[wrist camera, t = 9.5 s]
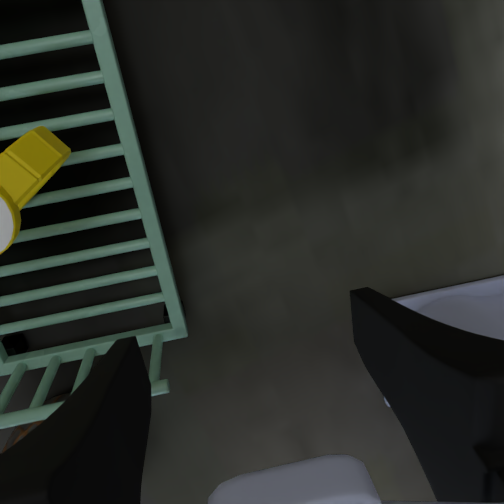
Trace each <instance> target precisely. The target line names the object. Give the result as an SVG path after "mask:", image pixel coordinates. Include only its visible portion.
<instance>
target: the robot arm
mask: <svg viewBox="0 0 504 504" xmlns="http://www.w3.org/2000/svg"><path fill="white" fill-rule="evenodd" d="M350 299H351V311H352V323H353V335H354V342H355V345H356V347H357V349H358V352H359V354H360V356H361V358H362V361H363V363H364V365H365V367H366V368H367V370H368V372H369V373H370V375H371V376H372V378H373V380H374V381H375V383H376V385H377V386H378V388H379V389H380V391H381V392H382V394H383V396H384V401H385V403H386V405H387V406H388V407H391V408H392V410H393V411H394V413H395V415H396V416H397V418H398V420H399V421H400V423H401V425H402V427H403V428H404V430H405V432H406V435H407V437H408V439H409V441H410V443H411V445H412V447H413V449H414V451H415V453H416V455H417V457H418V459H419V462H420V464H421V466H422V468H423V470H424V472H425V474H426V477H427V479H428V481H429V483H430V485H431V488H432V490H433V492H434V495H435V497H436V499H437V501H438V502H427V501H381V500H380V498H379V496H378V493H377V491H376V489H375V486H374V484H373V482H372V480H371V477H370V475H369V473H368V471H367V469H366V467H365V465H364V463H363V461H360V460H358V459H356V458H354V457H352V456H350V455H348V454H335V455H324V456H319V457H315V458H310V459H306V460H302V461H297V462H293V463H289V464H284V465H280V466H276V467H271V468H267V469H262V470H258V471H254V472H249V473H245V474H241V475H238V476H236V477H233V478H231V479H229V480H227V481H224V482H222V483H221V484H220V485H219V486H218V487H217V488H216V489H215V490H214V492H213V493H212V494H211V495H210V496H209V497H208V504H504V275H502V276H498V277H493V278H488V279H483V280H479V281H474V282H469V283H464V284H460V285H455V286H450V287H446V288H441V289H436V290H431V291H427V292H422V293H417V294H412V295H408V296H403V297H398V298H393V299H390V298H388V297H386V296H384V295H382V294H381V293H379V292H377V291H375V290H373V289H371V288H369V287H365V288H360V289H356V290H351V291H350ZM150 418H151V382H150V379H149V376H148V373H147V370H146V367H145V364H144V360H143V357H142V354H141V351H140V348H139V345H138V342H137V338H136V336H131V337H126V338H121V339H117V340H116V341H115V342H114V344H113V345H112V346H111V347H110V349H109V350H108V351H107V352H106V354H105V355H104V356H103V357H102V359H101V360H100V361H99V363H98V364H97V365H96V366H95V367H94V369H93V370H92V371H91V372H90V374H89V375H88V376H87V377H86V378H85V380H84V381H83V382H82V383H81V384H80V385H79V386H78V387H77V388H76V390H75V391H74V392H73V393H72V394H71V395H70V396H69V397H68V398H67V399H66V400H65V401H64V402H63V403H62V404H61V405H60V406H59V407H58V408H57V409H56V410H55V411H54V412H53V413H52V414H51V415H50V416H49V417H48V418H47V419H45V420H44V421H43V422H42V423H41V424H40V425H38V426H37V427H36V428H35V429H33V430H32V431H31V432H30V433H28V434H27V435H26V436H25V437H23V438H22V439H21V440H19V441H18V442H17V443H16V444H14V445H13V446H11V447H10V448H9V449H7V450H6V451H4V452H3V453H1V454H0V504H140V496H141V481H142V472H143V466H144V459H145V452H146V446H147V439H148V432H149V425H150Z"/></svg>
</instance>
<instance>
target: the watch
mask: <svg viewBox="0 0 504 504" xmlns="http://www.w3.org/2000/svg"><path fill="white" fill-rule="evenodd" d="M70 154H71V149H70V148H69V147H68V146H66V145H65V144H64V143H63V142H62V141H61V140H59V139H58V138H57V137H56V136H55V135H54V134H53V133H51V132H50V131H49V130H48V129H47V128H46V127H44V126H38V127H36V128H34V129H32V130H30V131H28V132H27V133H25V134H24V135H23V136H22V137H20V138H19V139H18V140H17V141H15V142H14V143H13V144H12V145H10V146H9V147H8V148H6V149H5V151H4V152H2V153H1V154H0V254H1V253H3V252H4V251H5V250H7V249H8V248H9V246H10V245H11V244H12V243H13V242H14V240H15V239H16V237H17V236H18V234H19V230H20V225H21V216H20V210H21V209H22V208H23V207H24V206H25V205H26V204H27V203H28V202H29V200H30V199H31V198H32V197H33V196H34V195H35V194H36V193H37V192H38V191H39V190H40V189H41V188H42V186H43V185H44V184H45V183H46V182H47V181H48V180H49V179H50V178H51V177H52V176H53V175H54V173H55V172H56V171H57V170H58V169H59V168H60V167H61V165H62V164H63V163H64V162H65V161H66V160H67V158H68V157H69V155H70Z"/></svg>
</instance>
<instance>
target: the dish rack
mask: <svg viewBox="0 0 504 504" xmlns="http://www.w3.org/2000/svg"><path fill="white" fill-rule="evenodd" d="M76 1H78V2H80V3H82V4H83V8H84V12H85V15H86V19H87V23H88V26H89V30H85V31H80V32H74V33H68V34H62V35H56V36H50V37H44V38H39V39H33V40H27V41H21V42H15V43H9V44H3V45H0V60H1V59H7V58H13V57H18V56H24V55H30V54H36V53H42V52H47V51H53V50H59V49H65V48H70V47H76V46H82V45H88V44H94V48H95V51H96V55H97V59H98V62H99V66H100V70H99V71H93V72H87V73H82V74H76V75H70V76H65V77H59V78H53V79H48V80H42V81H36V82H31V83H25V84H19V85H14V86H8V87H2V88H0V101H6V100H11V99H17V98H23V97H28V96H34V95H40V94H45V93H51V92H57V91H62V90H68V89H73V88H79V87H85V86H90V85H96V84H102V83H104V84H105V88H106V91H107V95H108V98H109V102H110V106H111V108H108V109H102V110H97V111H91V112H86V113H80V114H75V115H69V116H64V117H58V118H53V119H47V120H42V121H36V122H31V123H25V124H20V125H14V126H9V127H3V128H0V141H2V140H8V139H13V138H19V137H22V136H23V135H24V134H25V133H27V132H28V131H30V130H32V129H34V128H36V127H38V126H44V127H46V128H47V129H48V130H49V131H50V132H52V131H57V130H63V129H68V128H73V127H79V126H84V125H90V124H95V123H101V122H106V121H112V120H115V124H116V127H117V131H118V135H119V138H120V142H121V143H120V144H115V145H109V146H104V147H98V148H93V149H88V150H82V151H77V152H72V153H71V154H70V155H69V157H68V158H67V160H66V161H65V162H64V163H63V164H62V165H61V167H62V166H67V165H72V164H78V163H83V162H88V161H94V160H99V159H104V158H110V157H115V156H120V155H124V156H125V160H126V163H127V167H128V171H129V174H130V177H126V178H120V179H115V180H110V181H104V182H99V183H94V184H89V185H83V186H78V187H73V188H68V189H62V190H57V191H52V192H46V193H41V194H36V195H34V196H33V197H32V198H31V199H30V200H29V202H28V203H27V204H26V205H25V206H24V207H23V208H22V209H24V208H29V207H34V206H39V205H44V204H50V203H55V202H60V201H65V200H71V199H76V198H81V197H86V196H92V195H97V194H102V193H107V192H113V191H118V190H123V189H128V188H133V189H134V192H135V196H136V200H137V203H138V207H139V208H136V209H131V210H126V211H120V212H115V213H110V214H105V215H100V216H95V217H89V218H84V219H79V220H74V221H69V222H64V223H58V224H53V225H48V226H43V227H38V228H33V229H28V230H22V231H19V234H18V236H17V237H16V239H15V240H14V242H13V243H18V242H23V241H29V240H34V239H39V238H44V237H49V236H54V235H59V234H64V233H70V232H75V231H80V230H85V229H90V228H95V227H100V226H106V225H111V224H116V223H121V222H126V221H131V220H136V219H141V218H142V221H143V225H144V229H145V232H146V236H147V238H142V239H137V240H132V241H127V242H122V243H117V244H111V245H106V246H101V247H96V248H91V249H86V250H81V251H76V252H71V253H66V254H61V255H56V256H51V257H46V258H41V259H36V260H30V261H25V262H20V263H15V264H10V265H5V266H0V277H5V276H10V275H15V274H20V273H25V272H30V271H35V270H40V269H45V268H50V267H55V266H60V265H65V264H70V263H75V262H80V261H85V260H90V259H95V258H100V257H105V256H110V255H115V254H120V253H125V252H130V251H135V250H140V249H145V248H150V250H151V254H152V257H153V261H154V266H149V267H144V268H139V269H134V270H129V271H124V272H119V273H114V274H109V275H104V276H99V277H94V278H90V279H85V280H80V281H75V282H70V283H65V284H60V285H55V286H50V287H45V288H40V289H35V290H30V291H25V292H20V293H15V294H10V295H5V296H0V307H3V306H8V305H13V304H18V303H23V302H28V301H33V300H37V299H42V298H47V297H52V296H57V295H62V294H67V293H72V292H77V291H82V290H87V289H92V288H97V287H102V286H107V285H112V284H117V283H121V282H126V281H131V280H136V279H141V278H146V277H151V276H156V275H157V276H158V279H159V283H160V286H161V290H162V292H159V293H154V294H149V295H144V296H139V297H134V298H129V299H124V300H119V301H115V302H110V303H105V304H100V305H95V306H90V307H85V308H80V309H75V310H71V311H66V312H61V313H56V314H51V315H46V316H41V317H36V318H31V319H27V320H22V321H17V322H12V323H7V324H2V325H0V335H4V334H9V333H13V332H18V331H23V330H28V329H33V328H38V327H43V326H47V325H52V324H57V323H62V322H67V321H72V320H77V319H81V318H86V317H91V316H96V315H101V314H106V313H111V312H115V311H120V310H125V309H130V308H135V307H140V306H145V305H150V304H154V303H159V302H164V301H165V305H164V316H163V318H164V321H165V324H162V325H157V326H152V327H147V328H142V329H138V330H133V331H128V332H123V333H118V334H114V335H109V336H104V337H99V338H94V339H90V340H85V341H80V342H75V343H70V344H66V345H61V346H56V347H51V348H46V349H42V350H37V351H32V352H27V350H28V345H27V343H26V341H25V339H24V336H23V334H17V335H12V336H7V337H4V338H3V340H2V341H1V340H0V376H4V375H8V374H12V375H11V377H10V378H9V380H8V382H7V384H6V386H5V387H4V389H3V391H2V393H1V395H0V429H4V428H9V427H13V426H18V425H22V424H27V423H32V422H36V421H41V420H45V419H47V418H48V417H49V416H50V415H51V414H52V413H53V412H54V411H55V410H56V409H57V408H58V407H59V406H60V405H61V404H62V403H63V402H64V401H61V402H56V403H52V404H47V405H43V404H44V401H45V399H46V396H47V394H48V392H49V389H50V387H51V384H52V382H53V380H54V377H55V375H56V372H57V370H58V368H59V365H60V364H61V363H65V362H70V361H75V360H80V359H83V360H82V363H81V366H80V369H79V372H78V375H77V377H76V380H75V383H74V386H73V389H72V392H71V394H72V393H73V392H74V391H75V390H76V388H77V387H78V386H79V385H80V384H81V383H82V382H83V381H84V380H85V378H86V377H87V376H88V375H89V373H90V370H91V366H92V363H93V360H94V357H95V356H98V355H103V354H106V352H107V351H108V350H109V349H110V347H111V346H112V345H113V344H114V342H115V341H116V340H117V339H121V338H126V337H131V336H136V338H137V342H138V345H139V347H141V346H146V345H151V344H152V352H151V361H150V369H149V379H150V382H151V396H156V395H161V394H165V393H169V392H170V384H169V381H168V379H163V380H160V368H161V357H162V345H163V342H165V341H170V340H174V339H179V338H184V337H187V336H188V328H187V324H186V313H185V310H184V306H183V302H182V301H180V297H179V293H178V289H177V285H176V282H175V278H174V274H173V270H172V266H171V262H170V259H169V255H168V251H167V247H166V243H165V239H164V236H163V232H162V228H161V224H160V220H159V216H158V212H157V209H156V205H155V201H154V197H153V193H152V189H151V186H150V182H149V178H148V174H147V170H146V166H145V162H144V159H143V155H142V151H141V147H140V143H139V139H138V136H137V132H136V128H135V124H134V120H133V116H132V112H131V109H130V105H129V101H128V97H127V93H126V89H125V86H124V82H123V78H122V74H121V70H120V66H119V62H118V59H117V55H116V51H115V47H114V43H113V39H112V36H111V32H110V28H109V24H108V20H107V16H106V13H105V9H104V5H103V1H102V0H76ZM13 243H12V244H13ZM26 352H27V353H26ZM46 366H48V367H47V369H46V371H45V373H44V375H43V378H42V380H41V382H40V384H39V386H38V389H37V391H36V393H35V395H34V397H33V400H32V402H31V404H30V406H29V408H28V409H24V410H19V411H15V412H10V413H5V414H3V413H4V411H5V410H6V408H7V406H8V404H9V402H10V400H11V398H12V396H13V394H14V392H15V390H16V388H17V386H18V384H19V383H20V381H21V379H22V377H23V375H24V373H25V371H27V370H32V369H37V368H42V367H46Z"/></svg>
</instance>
